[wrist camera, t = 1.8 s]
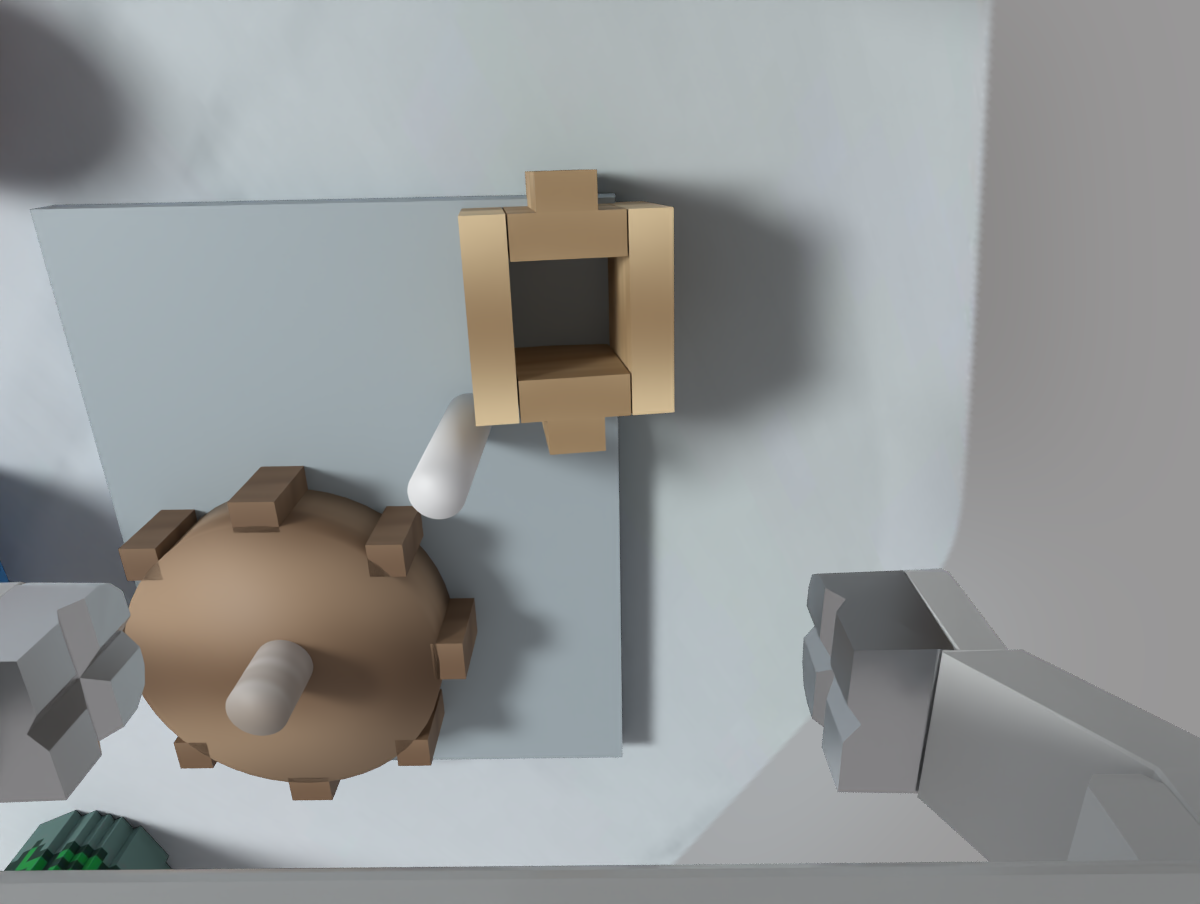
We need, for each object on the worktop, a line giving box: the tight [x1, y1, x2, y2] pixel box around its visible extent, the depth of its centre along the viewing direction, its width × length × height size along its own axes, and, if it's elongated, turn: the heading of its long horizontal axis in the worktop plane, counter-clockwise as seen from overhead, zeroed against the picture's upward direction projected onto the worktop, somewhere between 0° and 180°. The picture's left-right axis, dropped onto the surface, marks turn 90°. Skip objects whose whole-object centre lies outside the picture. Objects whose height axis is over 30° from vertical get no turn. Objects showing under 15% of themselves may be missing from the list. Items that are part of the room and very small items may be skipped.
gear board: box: [30, 193, 622, 760], centre depth 27 cm, size 22×18×7 cm
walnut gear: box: [118, 466, 478, 800], centre depth 29 cm, size 12×12×5 cm
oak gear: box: [458, 170, 674, 455], centre depth 24 cm, size 8×6×4 cm
